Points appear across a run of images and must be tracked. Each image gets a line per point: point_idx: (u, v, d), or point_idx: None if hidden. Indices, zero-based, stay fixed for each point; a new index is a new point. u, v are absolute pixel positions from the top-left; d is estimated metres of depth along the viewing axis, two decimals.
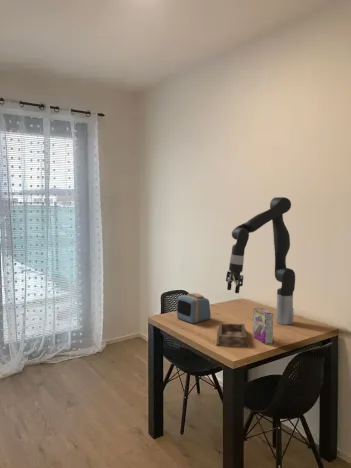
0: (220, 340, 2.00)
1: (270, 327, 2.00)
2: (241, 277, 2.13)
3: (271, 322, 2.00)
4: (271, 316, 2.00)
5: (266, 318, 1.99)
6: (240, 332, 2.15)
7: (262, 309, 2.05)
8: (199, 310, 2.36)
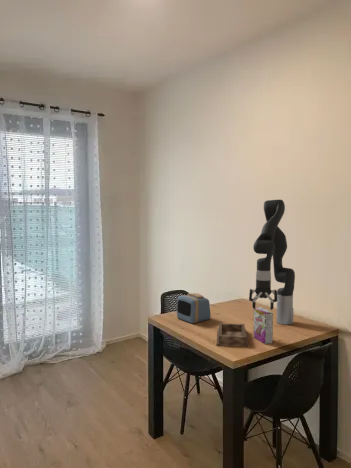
0: (220, 340, 2.00)
1: (270, 327, 2.00)
2: (276, 292, 2.03)
3: (271, 322, 2.00)
4: (271, 316, 2.00)
5: (266, 318, 1.99)
6: (240, 332, 2.15)
7: (262, 309, 2.05)
8: (199, 310, 2.36)
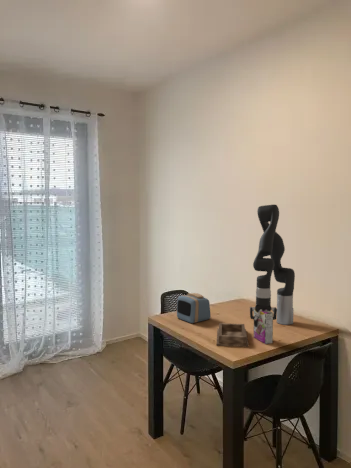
0: (220, 340, 2.00)
1: (270, 327, 2.00)
2: None
3: (271, 322, 2.00)
4: (271, 316, 2.00)
5: (266, 318, 1.99)
6: (240, 332, 2.15)
7: None
8: (199, 310, 2.36)
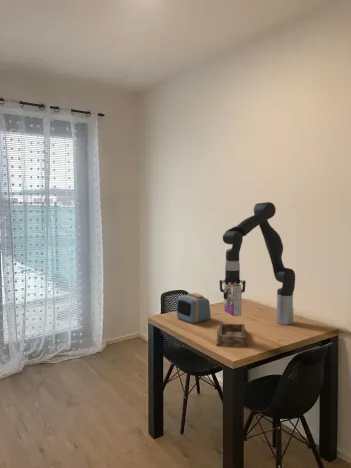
0: (220, 340, 2.00)
1: (239, 299, 2.03)
2: None
3: (239, 294, 2.03)
4: (239, 288, 2.03)
5: (234, 290, 2.02)
6: (240, 332, 2.15)
7: None
8: (199, 310, 2.36)
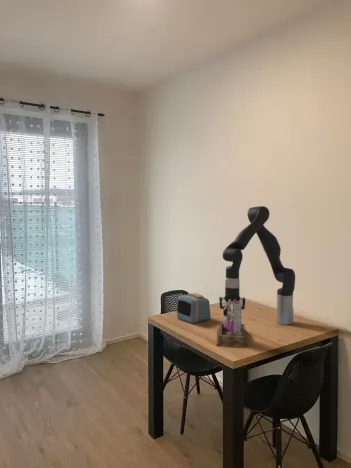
0: (220, 340, 2.00)
1: (238, 316, 2.04)
2: None
3: (239, 312, 2.04)
4: (239, 306, 2.03)
5: (234, 307, 2.02)
6: None
7: None
8: (199, 310, 2.36)
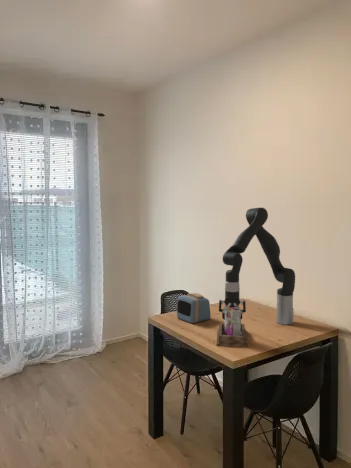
0: (220, 340, 2.00)
1: (238, 323, 2.04)
2: None
3: (239, 318, 2.04)
4: (239, 312, 2.03)
5: (234, 314, 2.03)
6: None
7: None
8: (199, 310, 2.36)
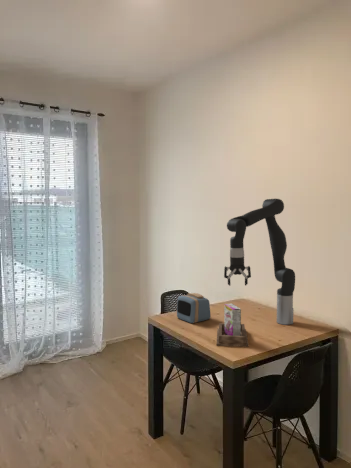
0: (220, 340, 2.00)
1: (238, 323, 2.04)
2: None
3: (239, 318, 2.04)
4: (239, 312, 2.03)
5: (234, 314, 2.03)
6: None
7: (232, 305, 2.09)
8: (199, 310, 2.36)
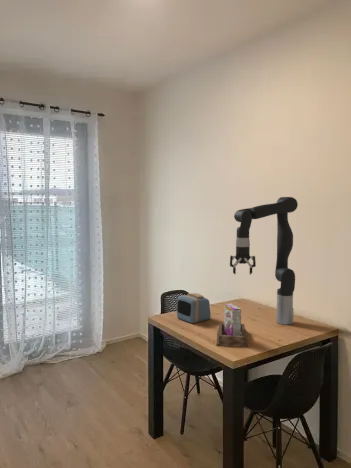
0: (220, 340, 2.00)
1: (238, 323, 2.04)
2: None
3: (239, 318, 2.04)
4: (239, 312, 2.03)
5: (234, 314, 2.03)
6: None
7: (232, 305, 2.09)
8: (199, 310, 2.36)
